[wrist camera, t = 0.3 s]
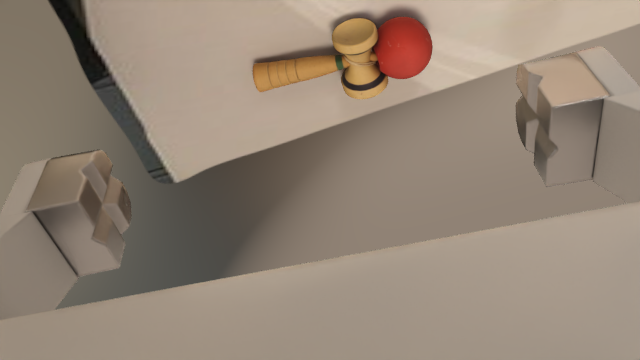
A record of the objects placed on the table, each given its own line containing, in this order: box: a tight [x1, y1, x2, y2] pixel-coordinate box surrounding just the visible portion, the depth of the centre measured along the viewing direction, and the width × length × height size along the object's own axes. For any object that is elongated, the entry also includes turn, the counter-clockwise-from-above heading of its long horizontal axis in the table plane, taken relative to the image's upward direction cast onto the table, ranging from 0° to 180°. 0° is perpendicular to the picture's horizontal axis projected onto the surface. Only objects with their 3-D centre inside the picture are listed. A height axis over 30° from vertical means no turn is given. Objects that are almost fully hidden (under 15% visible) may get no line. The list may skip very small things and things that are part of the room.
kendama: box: [253, 17, 432, 99], centre depth 61 cm, size 8×6×18 cm
